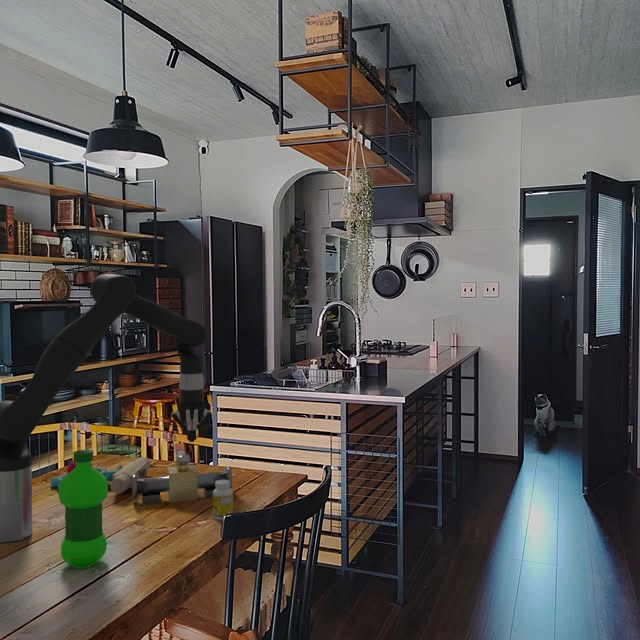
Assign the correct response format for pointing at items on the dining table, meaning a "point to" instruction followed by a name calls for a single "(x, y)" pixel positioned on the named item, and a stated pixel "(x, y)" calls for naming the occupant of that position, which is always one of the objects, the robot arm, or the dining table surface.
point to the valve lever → (180, 454)
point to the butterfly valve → (117, 475)
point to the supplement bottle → (222, 499)
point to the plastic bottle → (83, 512)
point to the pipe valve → (178, 484)
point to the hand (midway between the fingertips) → (191, 441)
